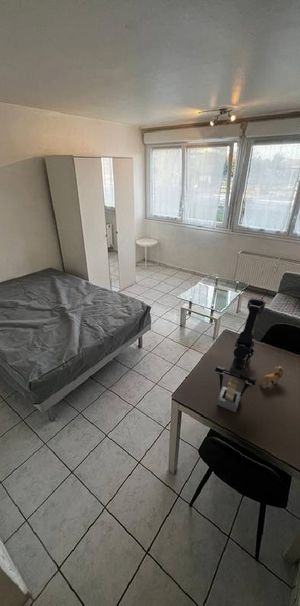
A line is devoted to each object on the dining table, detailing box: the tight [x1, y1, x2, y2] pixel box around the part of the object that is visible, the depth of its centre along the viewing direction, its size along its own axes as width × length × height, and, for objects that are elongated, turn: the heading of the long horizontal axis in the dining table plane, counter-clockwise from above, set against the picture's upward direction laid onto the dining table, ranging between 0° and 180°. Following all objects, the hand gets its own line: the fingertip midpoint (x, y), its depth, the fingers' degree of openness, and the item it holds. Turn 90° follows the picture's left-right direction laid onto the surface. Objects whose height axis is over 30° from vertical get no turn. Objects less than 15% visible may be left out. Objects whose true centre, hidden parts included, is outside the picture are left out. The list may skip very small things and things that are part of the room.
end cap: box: [216, 385, 241, 413], centre depth 125 cm, size 9×9×4 cm
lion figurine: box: [258, 365, 284, 389], centre depth 134 cm, size 15×5×9 cm, turn 120°
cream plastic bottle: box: [225, 378, 239, 402], centre depth 123 cm, size 4×4×13 cm
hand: (230, 393), depth 121 cm, fingers open, 9 cm apart
